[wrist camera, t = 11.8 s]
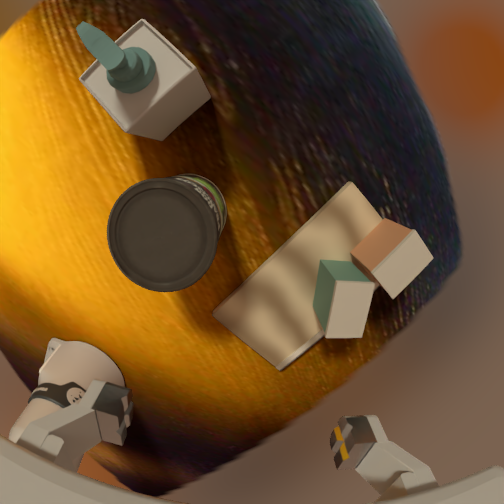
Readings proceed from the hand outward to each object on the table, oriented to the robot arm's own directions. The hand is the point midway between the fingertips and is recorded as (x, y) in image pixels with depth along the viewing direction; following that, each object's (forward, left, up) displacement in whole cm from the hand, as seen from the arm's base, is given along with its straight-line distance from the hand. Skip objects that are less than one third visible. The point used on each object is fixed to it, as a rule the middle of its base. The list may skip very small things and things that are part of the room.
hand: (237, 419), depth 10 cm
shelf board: (+2, -11, -31) cm, 33 cm away
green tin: (+4, -13, -30) cm, 33 cm away
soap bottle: (+6, +20, -31) cm, 38 cm away
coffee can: (-3, +7, -31) cm, 32 cm away
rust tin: (+12, -14, -30) cm, 35 cm away
